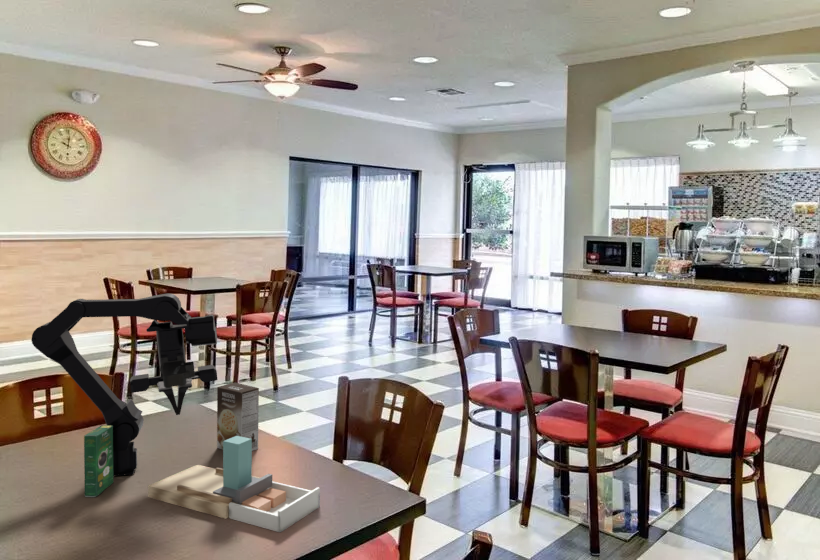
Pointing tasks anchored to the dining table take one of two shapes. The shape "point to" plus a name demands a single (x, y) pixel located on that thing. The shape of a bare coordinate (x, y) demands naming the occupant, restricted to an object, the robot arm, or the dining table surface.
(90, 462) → the coffee box
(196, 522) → the dining table surface
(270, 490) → the tile
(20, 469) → the dining table surface
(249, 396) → the coffee box
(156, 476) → the dining table surface
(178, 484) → the board
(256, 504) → the tile
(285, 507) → the tray
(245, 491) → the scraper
